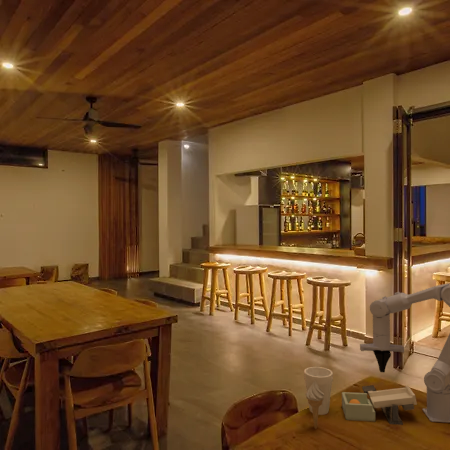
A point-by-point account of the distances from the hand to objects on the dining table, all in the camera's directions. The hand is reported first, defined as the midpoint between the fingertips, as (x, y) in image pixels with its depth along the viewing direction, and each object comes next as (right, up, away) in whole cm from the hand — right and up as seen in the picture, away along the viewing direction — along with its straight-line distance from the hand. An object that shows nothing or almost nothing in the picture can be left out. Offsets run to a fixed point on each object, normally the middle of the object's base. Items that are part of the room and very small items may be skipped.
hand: (382, 371), depth 140 cm
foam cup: (-24, -11, -7) cm, 27 cm away
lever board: (-1, -7, -8) cm, 11 cm away
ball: (-13, -8, -10) cm, 18 cm away
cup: (-12, -10, -10) cm, 19 cm away
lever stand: (-2, -10, -12) cm, 16 cm away
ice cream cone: (-28, -11, -19) cm, 35 cm away
